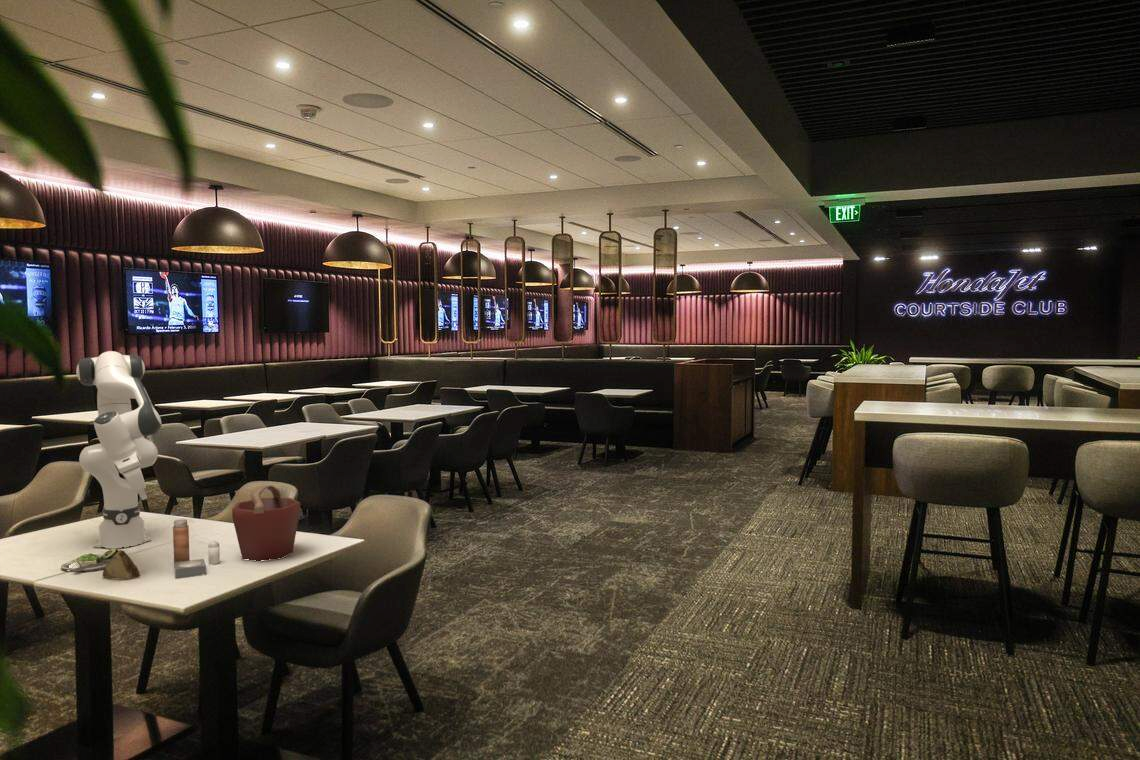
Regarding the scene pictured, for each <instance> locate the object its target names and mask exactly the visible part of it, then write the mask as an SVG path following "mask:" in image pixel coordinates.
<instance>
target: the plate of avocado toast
mask: <svg viewBox="0 0 1140 760" xmlns="http://www.w3.org/2000/svg"><path fill="white" fill-rule="evenodd" d="M118 551H119V548H109V549H108V550H107V551H106V552H105V553H88V554H86V553H85V554H82V555H80V556H78V557H76V558H74V559H72V560H70V561H67V562H65V563H62V564H61V565H60V568H61V569H62V570H64V571H66V570H70V571H87V572H91V570H94V571H98V570H97V569H100V570H104V569H103V568H105V566H106V565H107V563H108V562H109V560H110V559H111V558H113V556H114V555H115V554H116V553H117V552H118ZM76 562H77V563H78V564H79V565H78V564H77V565H78V566H79V567H76V568H73V567H72V568H69V565H71V564H73V563H76Z"/></svg>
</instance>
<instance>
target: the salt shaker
mask: <svg viewBox="0 0 1140 760" xmlns="http://www.w3.org/2000/svg"><path fill="white" fill-rule="evenodd" d="M207 554H208V555H207V556H208V559H207V561H208V565H209V564H215V565H218V564H217V563H219V564H220V563H221V557H220V555H221V553H220V543H219V541H216V540H212V541H210V542H209V543H208V546H207Z"/></svg>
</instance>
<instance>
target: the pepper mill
mask: <svg viewBox="0 0 1140 760" xmlns="http://www.w3.org/2000/svg"><path fill="white" fill-rule="evenodd" d="M189 526H190V525H188V519H186V518H184V519H183V518H180V519H175V520H174V521H173V526H172V542H173V543H172V547H173V563H174V562H182V561H189V560H191V559H190V531H189V529H190V527H189Z"/></svg>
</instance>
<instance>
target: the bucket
mask: <svg viewBox="0 0 1140 760" xmlns="http://www.w3.org/2000/svg"><path fill="white" fill-rule="evenodd" d="M266 489H267V490H268V491H271V495H272V497H261V495H262V493H263V492H265V490H266ZM249 496H250V498H251V500H250V499H249V500H244V501H239V502H236V503H235V504H234V506H233V507H232V508H231V512H232V513H231V515H232V516H231V517H232V520H233V521H232V522H233V526H234V529H235V534H236V538H237V542H238V545H239V546H238V547H239V551H240V555H241V558H242V560H244V559H249V560H248V561H250V560H256V561H261V560H269V559H277V560H279V559H278V558H282V557H284V556H286V555H288V554H290V553H292V554H293V551H294V545H295V541H296V535H297V531H298V530H297V529H298V525H299V520H300V513H301V502H300V501H298V500H296V499H294V498H291V497H282V494H281V491H280V489H279V488H277V487H276V486H274V485H271V484H270V485H269V484H266V485H265V484H264V485H261V486H258V487H256V488H255V489H254V490H253V491H251V493H250V495H249ZM290 555H291V554H290ZM288 556H289V555H288ZM286 557H287V556H286ZM284 558H285V557H284ZM282 559H283V558H282ZM256 561H255V562H256ZM269 561H270V560H269ZM261 562H262V561H261Z"/></svg>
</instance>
